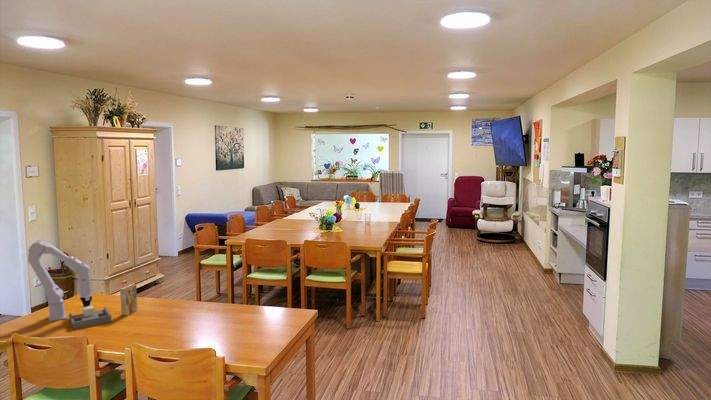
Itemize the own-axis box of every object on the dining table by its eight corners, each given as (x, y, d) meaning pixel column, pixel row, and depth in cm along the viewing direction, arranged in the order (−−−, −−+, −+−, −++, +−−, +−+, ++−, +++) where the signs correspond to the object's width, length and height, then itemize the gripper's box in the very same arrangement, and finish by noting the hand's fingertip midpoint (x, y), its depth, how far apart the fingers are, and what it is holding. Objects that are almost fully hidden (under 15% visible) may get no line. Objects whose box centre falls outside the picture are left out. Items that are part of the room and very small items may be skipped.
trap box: (69, 319, 268) (68, 313, 267) (105, 312, 278) (105, 306, 278) (73, 329, 254) (72, 322, 254) (111, 321, 264) (111, 315, 264)
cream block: (82, 314, 270) (82, 307, 270) (93, 312, 273) (92, 305, 273) (84, 316, 266) (83, 309, 266) (94, 314, 269) (93, 307, 269)
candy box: (131, 309, 283) (130, 283, 281) (138, 310, 282) (136, 284, 280) (121, 315, 274) (119, 288, 273) (127, 315, 273) (125, 288, 272)
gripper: (95, 287, 270) (97, 311, 271) (91, 281, 281) (92, 304, 283) (80, 290, 265) (82, 314, 267) (77, 284, 277) (78, 307, 279)
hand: (86, 309), depth 275 cm, fingers closed
